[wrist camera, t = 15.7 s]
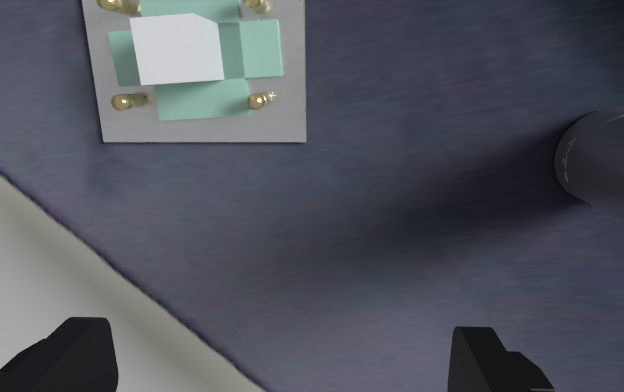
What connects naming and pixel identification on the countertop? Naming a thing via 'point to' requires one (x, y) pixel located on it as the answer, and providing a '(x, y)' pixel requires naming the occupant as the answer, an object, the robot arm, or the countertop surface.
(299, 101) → the chassis plate
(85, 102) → the countertop surface
